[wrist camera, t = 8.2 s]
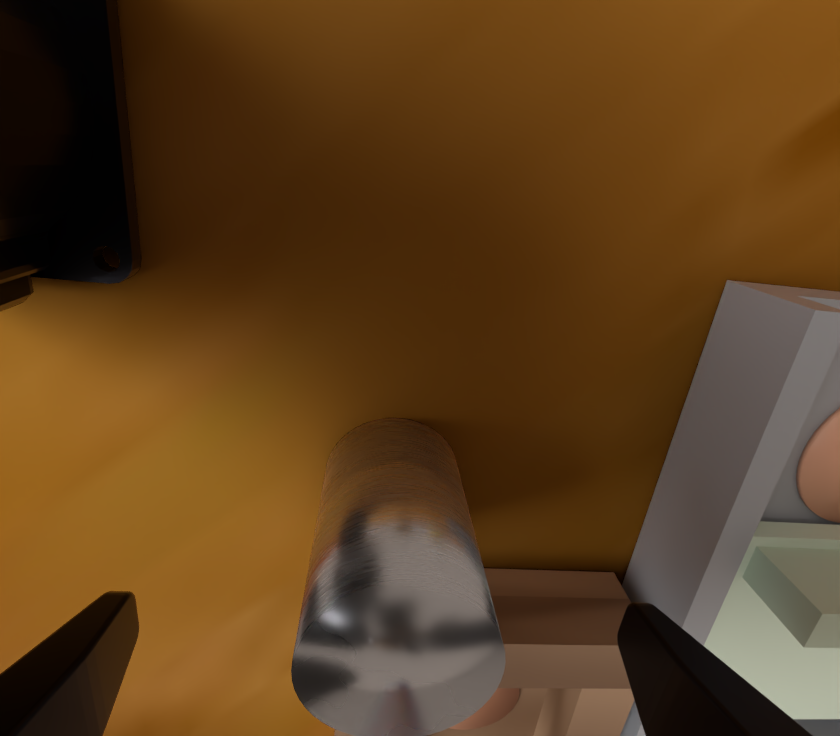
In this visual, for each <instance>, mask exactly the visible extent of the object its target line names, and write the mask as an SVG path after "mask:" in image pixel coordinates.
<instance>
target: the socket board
mask: <svg viewBox="0 0 840 736" xmlns="http://www.w3.org/2000/svg"><path fill="white" fill-rule="evenodd" d="M484 571H485V574H486V578H487V582H488V586H489V590H490V594H491V598H492V602H493V606H494V609H495V613H496V617H497V621H498V625H499V629H500V633H501V637H502V640H503V645H504V649H505V661H506V662H505V669H504V673H503V676H502V679H501V682H500V684H499V686H498V688H497V689H496V691H495V692H494V694H493V695H492V697H491V698H490V699H489V700H488V701H487V702H486V703H485V704H484V705H483V707H481V708H480V709H479V710H478V711H477V712H475V713H474V714H473V715H471V716H470V717H468V718H467V719H465V720H464V721H462V722H460V723H458V724H456V725H454V726H452V727H450V728H448V729H445V730H443V731H440V732H437V733H434V734H430V735H426V736H620V734H621V732H622V729H623V727H624V724H625V722H626V720H627V717H628V715H629V712H630V710H631V707H632V705H633V702H634V697H633V694H632V690H631V687H630V684H629V680H628V677H627V674H626V671H625V667H624V664H623V661H622V657H621V654H620V651H619V647H618V642H617V633H618V630H619V627H620V624H621V621H622V619H623V616H624V613H625V610H626V608H627V606H628V605H629V604H630V603H631V602H630V600H629V598H628V596H627V595H626V593H625V591H624V589H623V588H622V586H621V584H620V582H619V581H618V579H617V577H616V575H615V574H614V572H587V571H555V570H523V569H491V568H484ZM335 736H353V735H350V734H347V733H344V732H341V731H339V730H336V729H335Z"/></svg>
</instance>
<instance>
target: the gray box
mask: <svg viewBox="0 0 840 736" xmlns="http://www.w3.org/2000/svg"><path fill="white" fill-rule="evenodd" d="M760 521H765V522H787V523H810V524H832V525H840V292H838V291H828V290H818V289H809V288H799V287H789V286H779V285H770V284H760V283H750V282H741V281H731V280H727V282H726V285H725V288H724V291H723V293H722V296H721V299H720V302H719V305H718V308H717V311H716V314H715V317H714V320H713V322H712V325H711V328H710V331H709V334H708V337H707V340H706V343H705V346H704V349H703V351H702V354H701V357H700V360H699V363H698V366H697V369H696V372H695V375H694V378H693V380H692V383H691V386H690V389H689V392H688V395H687V398H686V401H685V404H684V407H683V410H682V412H681V415H680V418H679V421H678V424H677V427H676V430H675V433H674V436H673V439H672V441H671V444H670V447H669V450H668V453H667V456H666V459H665V462H664V465H663V468H662V470H661V473H660V476H659V479H658V482H657V485H656V488H655V491H654V494H653V497H652V500H651V502H650V505H649V508H648V511H647V514H646V517H645V520H644V523H643V526H642V529H641V531H640V534H639V537H638V540H637V543H636V546H635V549H634V552H633V555H632V558H631V560H630V563H629V566H628V569H627V572H626V575H625V578H624V581H623V584H622V588H623V589H624V591H625V593H626V595H627V596H628V598H629V600H630V602H631V603H632V602H639V603H651V604H653V605H654V606H656V607H657V608H658V609H659V610H660V611H662V612H663V613H664V614H665V615H667V616H668V617H669V618H670V619H671V620H673V621H674V622H675V623H676V624H678V625H679V626H680V627H681V628H682V629H684V630H685V631H686V632H687V633H689V634H690V635H691V636H692V637H693V638H695V639H696V640H697V641H698V642H700V643H701V644H702V645H703V646H704V644H705V642H706V640H707V637H708V635H709V633H710V631H711V628H712V626H713V624H714V622H715V620H716V617H717V615H718V613H719V611H720V609H721V606H722V604H723V602H724V600H725V597H726V595H727V593H728V591H729V589H730V586H731V584H732V582H733V580H734V577H735V575H736V573H737V571H738V569H739V566H740V564H741V562H742V560H743V558H744V555H745V553H746V551H747V549H748V546H749V544H750V542H751V540H752V538H753V535H754V533H755V531H756V529H757V527H758V524H759V522H760ZM793 720H795V721H796V722H797V723H798V724H800V725H801V726H802V727H803V728H804V729H806V730H807V731H808V732H809V733H811V734H812V735H813V736H840V719H793ZM620 736H646V735H645V732H644V729H643V726H642V723H641V720H640V717H639V714H638V710H637V707H636V704H635V700H634V702H633V705H632V707H631V710H630V712H629V715H628V717H627V720H626V722H625V724H624V727H623V729H622V732H621V734H620Z"/></svg>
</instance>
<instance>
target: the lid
mask: <svg viewBox="0 0 840 736" xmlns="http://www.w3.org/2000/svg"><path fill="white" fill-rule="evenodd" d="M704 647H706V648H707V649H708V650H709V651H711V652H712V653H713V654H714V655H715V656H717V657H718V658H719V659H720V660H721V661H723V662H724V663H725V664H726V665H728V666H729V667H730V668H731V669H732V670H734V671H735V672H736V673H737V674H739V675H740V676H741V677H742V678H743V679H745V680H746V681H747V682H748V683H750V684H751V685H752V686H753V687H754V688H756V689H757V690H758V691H759V692H761V693H762V694H763V695H764V696H765V697H767V698H768V699H769V700H770V701H772V702H773V703H774V704H775V705H776V706H778V707H779V708H780V709H781V710H782V711H784V712H785V713H786V714H787V715H789V716H790V717H791V718H792V719H840V525H832V524H810V523H787V522H765V521H760V522H759V524H758V527H757V529H756V531H755V533H754V535H753V538H752V540H751V542H750V544H749V546H748V549H747V551H746V553H745V555H744V558H743V560H742V562H741V564H740V566H739V569H738V571H737V573H736V575H735V577H734V580H733V582H732V584H731V586H730V589H729V591H728V593H727V595H726V597H725V600H724V602H723V604H722V606H721V609H720V611H719V613H718V615H717V617H716V620H715V622H714V624H713V626H712V628H711V631H710V633H709V635H708V637H707V640H706V642H705V644H704Z"/></svg>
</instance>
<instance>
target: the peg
mask: <svg viewBox="0 0 840 736" xmlns="http://www.w3.org/2000/svg"><path fill="white" fill-rule="evenodd" d="M505 662H506V661H505V649H504V645H503V640H502V637H501V633H500V629H499V625H498V621H497V617H496V613H495V609H494V606H493V602H492V598H491V594H490V590H489V586H488V582H487V578H486V574H485V571H484V567H483V563H482V559H481V555H480V551H479V547H478V543H477V539H476V536H475V532H474V528H473V524H472V520H471V516H470V512H469V508H468V505H467V501H466V497H465V493H464V489H463V485H462V481H461V477H460V473H459V470H458V466H457V462H456V458H455V456H454V453H453V451H452V449H451V447H450V446H449V444H448V443H447V442H446V440H445V439H444V438H443V437H442V436H441V435H440V434H439V433H437V432H436V431H435V430H433V429H432V428H430V427H428V426H426V425H424V424H422V423H419V422H416V421H413V420H408V419H401V418H386V419H379V420H374V421H371V422H368V423H365V424H362V425H360V426H358V427H356V428H355V429H353V430H352V431H350V432H349V433H347V434H346V435H345V436H344V437H343V438H342V439H341V440H340V441H339V442H338V443H337V444H336V446H335V447H334V449H333V450H332V452H331V454H330V456H329V459H328V462H327V466H326V471H325V477H324V483H323V488H322V494H321V500H320V506H319V511H318V517H317V523H316V529H315V534H314V540H313V546H312V552H311V557H310V563H309V569H308V574H307V580H306V586H305V592H304V597H303V603H302V609H301V615H300V620H299V626H298V632H297V638H296V643H295V649H294V655H293V661H292V669H291V673H292V682H293V686H294V689H295V692H296V694H297V696H298V698H299V700H300V701H301V702H302V704H303V705H304V707H305V708H306V709H307V710H308V711H309V712H310V713H311V714H312V715H313V716H315V717H316V718H317V719H319V720H320V721H321V722H323V723H325V724H326V725H328V726H330V727H332V728H334V729H336V730H339V731H341V732H344V733H347V734H350V735H353V736H426V735H430V734H434V733H437V732H440V731H443V730H445V729H448V728H450V727H452V726H454V725H456V724H458V723H460V722H462V721H464V720H465V719H467V718H468V717H470V716H471V715H473V714H474V713H475V712H477V711H478V710H479V709H480V708H481V707H483V705H484V704H485V703H486V702H487V701H488V700H489V699H490V698H491V697H492V695H493V694H494V692H495V691H496V689H497V688H498V686H499V684H500V682H501V679H502V676H503V673H504V669H505Z"/></svg>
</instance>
